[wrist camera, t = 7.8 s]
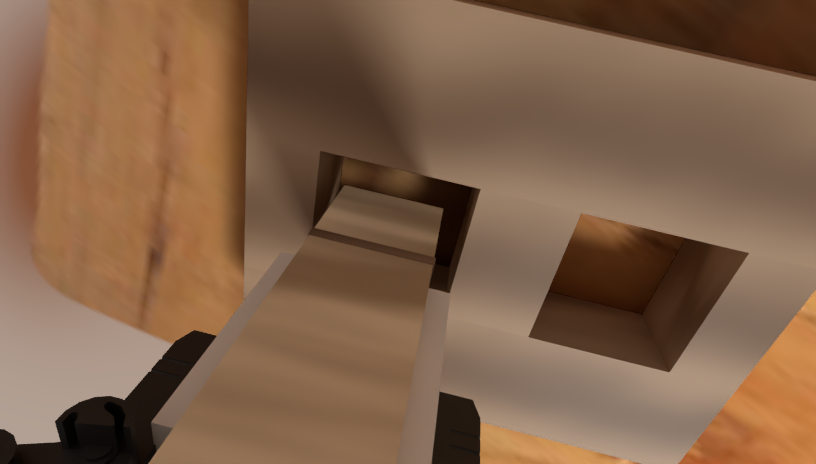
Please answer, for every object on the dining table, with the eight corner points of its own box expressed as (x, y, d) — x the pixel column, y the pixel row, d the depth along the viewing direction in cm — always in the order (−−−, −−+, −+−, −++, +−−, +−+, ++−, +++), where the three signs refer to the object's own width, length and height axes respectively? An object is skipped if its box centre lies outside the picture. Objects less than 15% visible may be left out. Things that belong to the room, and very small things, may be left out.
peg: (343, 183, 18) (53, 589, 6) (444, 207, 18) (361, 674, 6) (332, 268, 20) (97, 702, 8) (423, 290, 20) (328, 768, 8)
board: (294, -40, 18) (249, -46, 15) (860, 86, 17) (955, 112, 14) (274, 311, 27) (242, 360, 23) (647, 406, 26) (671, 471, 23)
